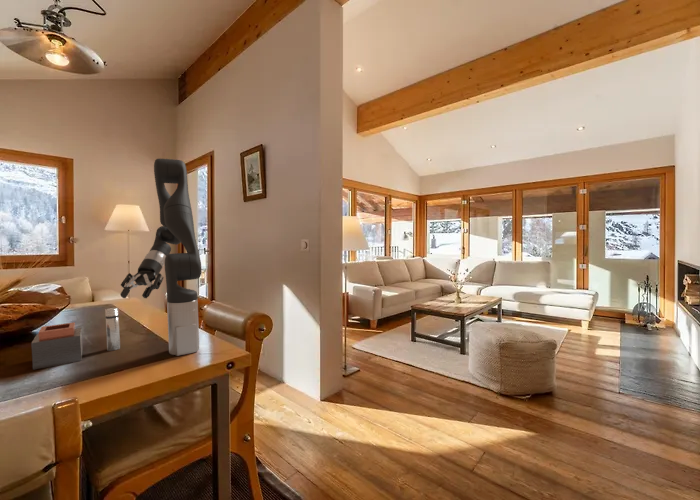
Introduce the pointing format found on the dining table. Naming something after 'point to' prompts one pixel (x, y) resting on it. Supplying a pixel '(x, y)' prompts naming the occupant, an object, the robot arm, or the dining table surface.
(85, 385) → the dining table surface
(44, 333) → the block
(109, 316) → the steel tube
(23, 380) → the dining table surface
